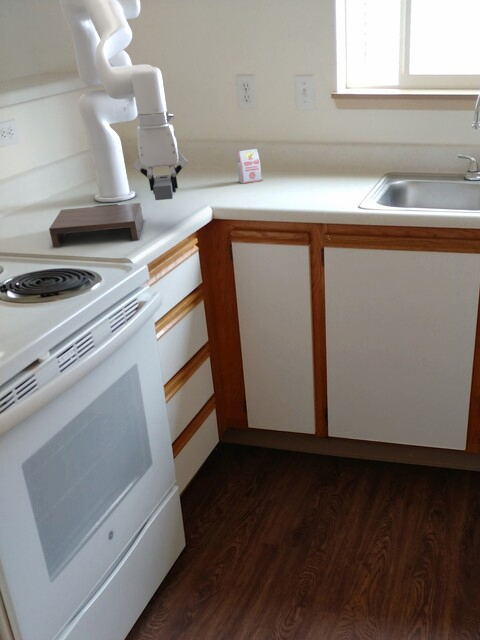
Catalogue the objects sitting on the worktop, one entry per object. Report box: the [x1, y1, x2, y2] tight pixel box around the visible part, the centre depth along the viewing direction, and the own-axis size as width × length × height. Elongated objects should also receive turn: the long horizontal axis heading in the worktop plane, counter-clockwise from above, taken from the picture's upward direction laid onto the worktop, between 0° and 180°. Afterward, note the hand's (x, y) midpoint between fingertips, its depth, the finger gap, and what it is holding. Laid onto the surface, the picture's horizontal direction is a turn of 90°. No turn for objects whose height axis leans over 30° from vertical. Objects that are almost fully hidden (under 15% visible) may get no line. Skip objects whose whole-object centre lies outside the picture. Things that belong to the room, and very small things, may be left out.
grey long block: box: [153, 174, 174, 201], centre depth 204 cm, size 14×4×4 cm, turn 8°
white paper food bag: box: [236, 148, 262, 185], centre depth 252 cm, size 4×7×10 cm, turn 116°
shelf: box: [48, 202, 144, 248], centre depth 207 cm, size 20×22×5 cm
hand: (164, 191), depth 205 cm, fingers closed on grey long block, 4 cm apart
